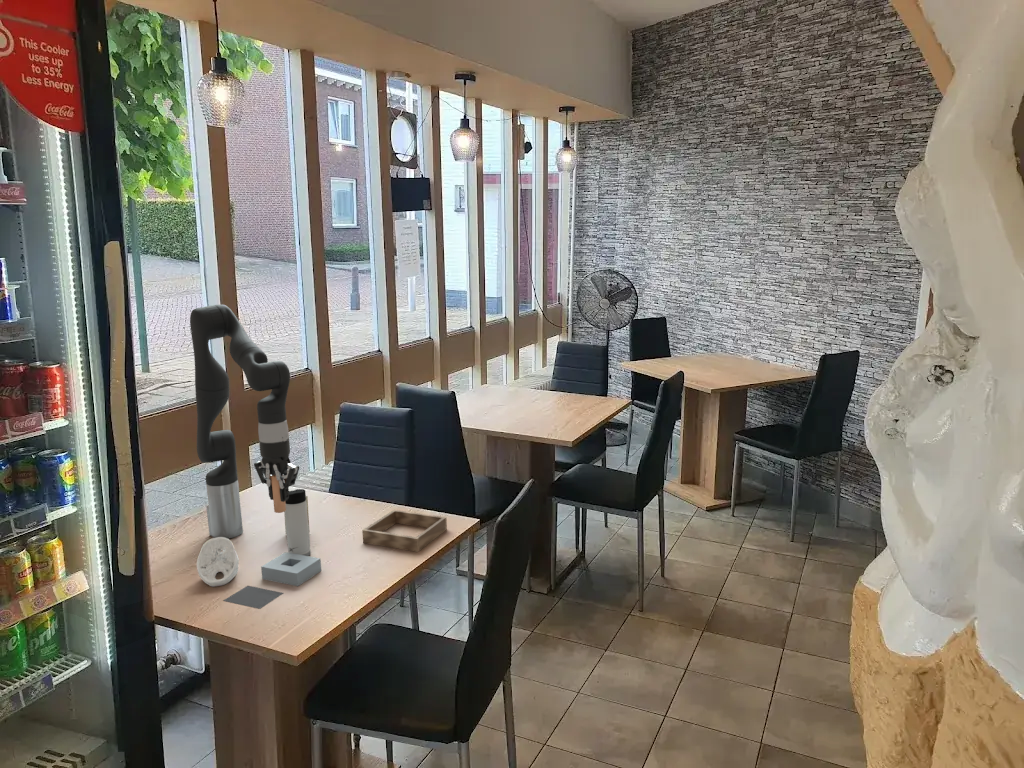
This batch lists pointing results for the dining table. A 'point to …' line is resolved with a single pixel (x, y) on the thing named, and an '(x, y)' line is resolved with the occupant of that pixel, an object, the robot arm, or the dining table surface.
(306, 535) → the travel mug
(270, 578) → the block
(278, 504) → the peg
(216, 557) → the skull bowl
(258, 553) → the dining table surface
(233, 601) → the mat
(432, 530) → the square wooden frame
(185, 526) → the dining table surface
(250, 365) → the robot arm
